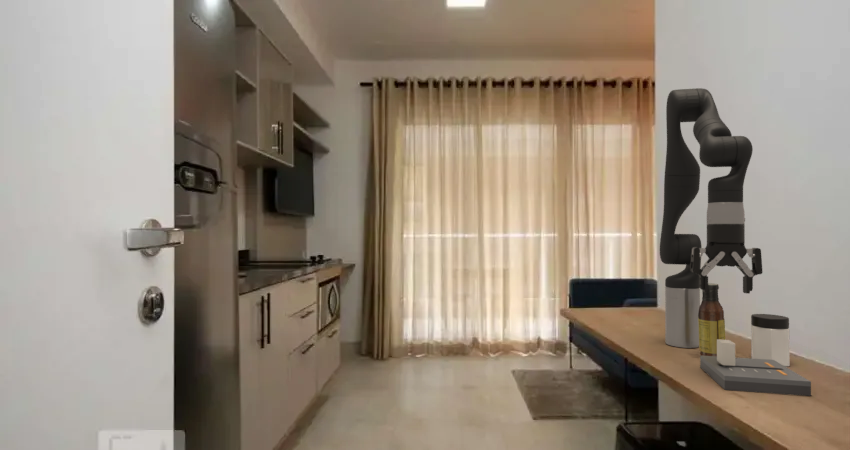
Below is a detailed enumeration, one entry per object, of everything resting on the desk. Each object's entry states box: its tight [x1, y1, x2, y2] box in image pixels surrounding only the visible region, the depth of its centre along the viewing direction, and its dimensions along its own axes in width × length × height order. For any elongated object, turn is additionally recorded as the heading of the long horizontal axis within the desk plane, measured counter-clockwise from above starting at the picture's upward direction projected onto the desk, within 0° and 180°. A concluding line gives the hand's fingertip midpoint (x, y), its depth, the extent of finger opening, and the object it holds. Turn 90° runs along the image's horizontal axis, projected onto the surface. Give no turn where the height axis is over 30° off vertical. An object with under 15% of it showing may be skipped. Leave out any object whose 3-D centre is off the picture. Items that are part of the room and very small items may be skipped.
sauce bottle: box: [698, 282, 726, 356], centre depth 134 cm, size 6×6×20 cm
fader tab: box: [717, 339, 736, 367], centre depth 115 cm, size 4×3×6 cm, turn 166°
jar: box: [750, 313, 791, 368], centre depth 129 cm, size 9×8×12 cm
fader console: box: [699, 354, 812, 397], centre depth 113 cm, size 18×16×3 cm
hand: (725, 292), depth 115 cm, fingers open, 8 cm apart
